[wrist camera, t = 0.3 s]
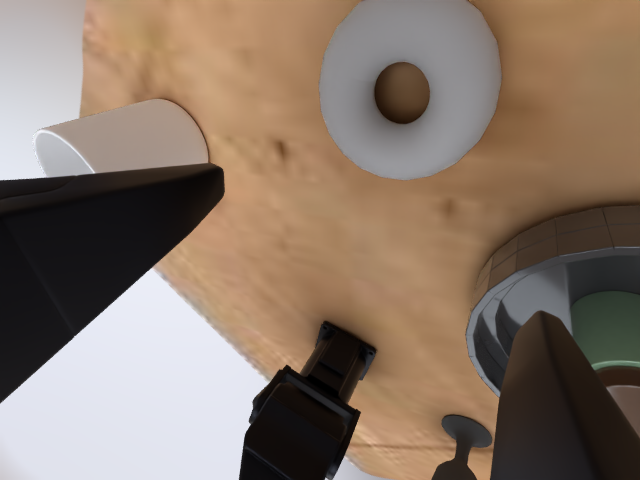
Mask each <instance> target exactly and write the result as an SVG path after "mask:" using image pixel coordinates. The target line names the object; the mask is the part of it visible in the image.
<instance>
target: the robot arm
mask: <svg viewBox="0 0 640 480" xmlns="http://www.w3.org/2000/svg"><path fill="white" fill-rule="evenodd" d="M224 192H225V187H224V171H223V169H222V168H221V167H219V166H217V165H215V164H212V163H202V164H191V165H180V166H169V167H158V168H147V169H136V170H126V171H115V172H104V173H93V174H82V175H77V176H76V175H71V176H60V177H48V178H36V179H18V180H0V403H1V402H2V401H4V400H5V399H6V398H7V397H8V396H9V395H10V394H11V393H12V392H14V391H15V390H16V389H17V388H18V387H19V386H20V385H21V384H23V383H24V382H25V381H26V380H27V379H28V378H29V377H30V376H31V375H33V374H34V373H35V372H36V371H37V370H38V369H39V368H40V367H41V366H42V365H44V364H45V363H46V362H47V361H48V360H49V359H50V358H52V357H53V356H54V355H55V354H56V353H57V352H58V351H59V350H60V349H62V348H63V347H64V346H65V345H66V344H67V343H68V342H69V341H71V340H72V339H73V338H74V336H76V335H77V334H78V333H79V332H80V331H81V330H82V329H84V328H85V327H86V326H87V325H88V324H89V323H90V322H91V321H93V320H94V319H95V318H96V317H97V316H98V315H99V314H100V313H102V312H103V311H104V310H105V309H106V308H107V307H108V306H109V305H110V304H112V303H113V302H114V301H115V300H116V299H117V298H118V297H119V296H121V295H122V294H123V293H124V292H125V291H126V290H127V289H128V288H129V287H131V286H132V285H133V284H134V283H135V282H136V281H137V280H138V279H139V278H140V277H142V276H143V275H144V274H145V273H146V272H147V271H149V270H150V269H151V268H152V267H153V266H154V265H155V264H156V263H157V262H159V261H160V260H161V259H162V258H163V257H164V256H165V255H166V254H168V253H169V252H170V251H171V250H172V249H173V248H174V247H175V246H176V245H178V244H179V243H180V242H181V241H182V240H183V239H184V238H185V237H187V236H188V235H189V234H190V233H191V232H192V231H193V230H194V229H195V228H196V227H197V226H198V224H199V223H200V222H201V221H202V220H203V219H204V218H205V217H206V216H207V215H208V213H209V212H210V211H211V210H212V209H213V208H214V207H215V206H216V205H217V203H218V202H219V201H220V200H221V199H222V198H223V196H224ZM375 355H376V350H375V349H374V348H372V347H371V346H369V345H367V344H365V343H363V342H362V341H360V340H358V339H356V338H354V337H353V336H351V335H349V334H347V333H345V332H344V331H342V330H340V329H338V328H336V327H334V326H333V325H331V324H329V323H327V322H323V324H322V325H321V328H320V332H319V335H318V339H317V343H316V347H315V350H314V351H313V353H312V355H311V356H310V358H309V359H308V361H307V362H306V364H305V366H304V367H303V369H302V370H301V372H300V374H299V373H297V372H296V371H294V370H293V369H291V367H290V366H288V365H286V366H285V367H284V368H283V370H280V369H279V371H278V372H277V373H276V375H275V376H274V378H273V379H272V380H271V382H270V383H269V384H268V385H267V386H266V387H265V388H264V389H263V390H262V391H261V392H260V393H259V394H258V395H257V396H256V397H255V398H254V400H253V410H252V414H251V416H250V418H249V423H250V424H251V425H250V427H249V428H248V430H247V432H246V434H245V438H244V446H243V453H242V460H241V469H240V475H239V480H325V477H326V478H327V479H329V480H332V479H333V478H334V476H335V474H336V472H337V470H338V468H339V466H340V464H341V462H342V460H343V458H344V455H345V453H346V451H347V448H348V446H349V443H350V440H351V438H352V435H353V432H354V430H355V427H356V424H357V422H358V419H359V416H360V414H361V412H360V411H359V410H357V409H356V410H355V409H354V408H352V407H351V406H349V405H348V402H349V400H350V398H351V396H352V394H353V392H354V389H355V387H356V385H357V383H358V381H359V380H363V378H364V376H365V374H366V372H367V370H368V368H369V366H370V364H371V363H372V361H373V359H374V357H375ZM490 480H640V437H639V436H638V434H637V433H636V431H635V430H634V428H633V427H632V425H631V424H630V422H629V421H628V419H627V418H626V416H625V415H624V413H623V412H622V410H621V409H620V407H619V406H618V404H617V403H616V401H615V400H614V398H613V397H612V395H611V394H610V392H609V391H608V389H607V388H606V386H605V385H604V383H603V382H602V380H601V379H600V377H599V376H598V374H597V373H596V371H595V370H594V368H593V367H592V365H591V364H590V362H589V361H588V359H587V358H586V356H585V355H584V353H583V352H582V350H581V349H580V347H579V346H578V344H577V343H576V341H575V340H574V338H573V337H572V335H571V334H570V332H569V331H568V329H567V328H566V326H565V325H564V323H563V322H562V321H561V319H560V318H558V317H556V316H554V315H552V314H550V313H547V312H545V311H543V310H539V311H537V312H535V313H534V314H533V315H532V316H531V317H530V318H529V319H528V320H527V321H526V323H525V324H524V325H523V326H522V327H521V328H520V329H519V330H518V331H517V333H516V335H515V337H514V341H513V345H512V349H511V353H510V357H509V360H508V364H507V368H506V372H505V376H504V380H503V384H502V388H501V392H500V398H499V405H498V414H497V423H496V432H495V441H494V450H493V459H492V467H491V476H490Z"/></svg>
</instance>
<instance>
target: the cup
mask: <svg viewBox="0 0 640 480" xmlns="http://www.w3.org/2000/svg"><path fill="white" fill-rule="evenodd" d="M33 146H34V151H35V155H36V158H37V160H38V163H39V165H40V167H41V169H42V171H43V173H44V175H45V176H46V178H48V177H60V176H71V175H76V176H77V175H82V174H93V173H104V172H115V171H126V170H136V169H147V168H158V167H169V166H180V165H191V164H202V163H208V150H207V146H206V143H205V140H204V137H203V135H202V133H201V131H200V129H199V127H198V126H197V124H196V123H195V121H194V120H193V119H192V118H191V116H190V115H189V114H188V113H187V112H186V111H185V110H184V109H182V108H181V107H180V106H178V105H177V104H175V103H173V102H170V101H168V100H164V99H151V100H146V101H142V102H138V103H135V104H131V105H127V106H124V107H120V108H116V109H113V110H109V111H105V112H101V113H98V114H94V115H90V116H87V117H83V118H79V119H76V120H72V121H68V122H65V123H61V124H57V125H53V126H50V127H46V128H42V129H39V130H37V131H36V132H35V134H34V136H33Z"/></svg>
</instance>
